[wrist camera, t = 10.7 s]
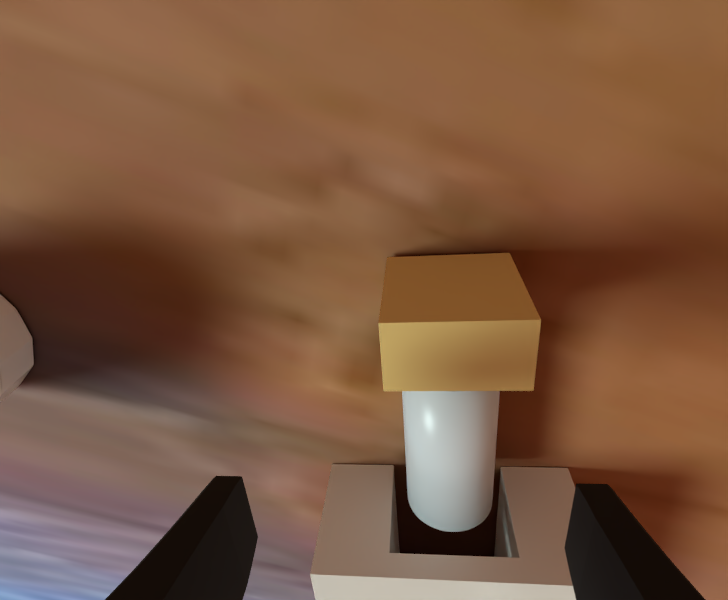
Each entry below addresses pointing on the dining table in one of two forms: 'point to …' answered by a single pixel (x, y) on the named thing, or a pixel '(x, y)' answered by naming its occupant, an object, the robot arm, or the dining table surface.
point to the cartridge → (455, 373)
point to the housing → (443, 572)
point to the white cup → (13, 349)
